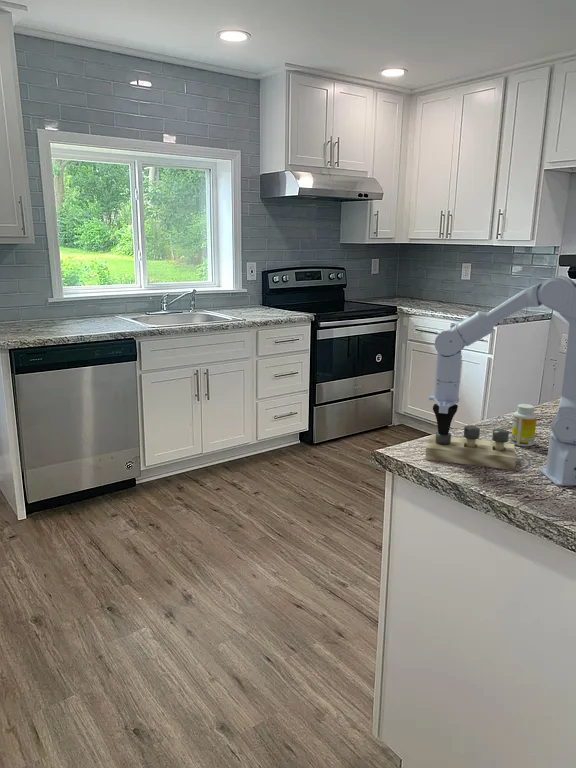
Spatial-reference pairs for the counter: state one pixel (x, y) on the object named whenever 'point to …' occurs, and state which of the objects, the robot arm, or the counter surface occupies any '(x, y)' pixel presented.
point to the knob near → (500, 438)
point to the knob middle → (471, 435)
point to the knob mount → (472, 453)
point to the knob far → (443, 439)
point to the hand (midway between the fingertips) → (443, 434)
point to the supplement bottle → (524, 425)
